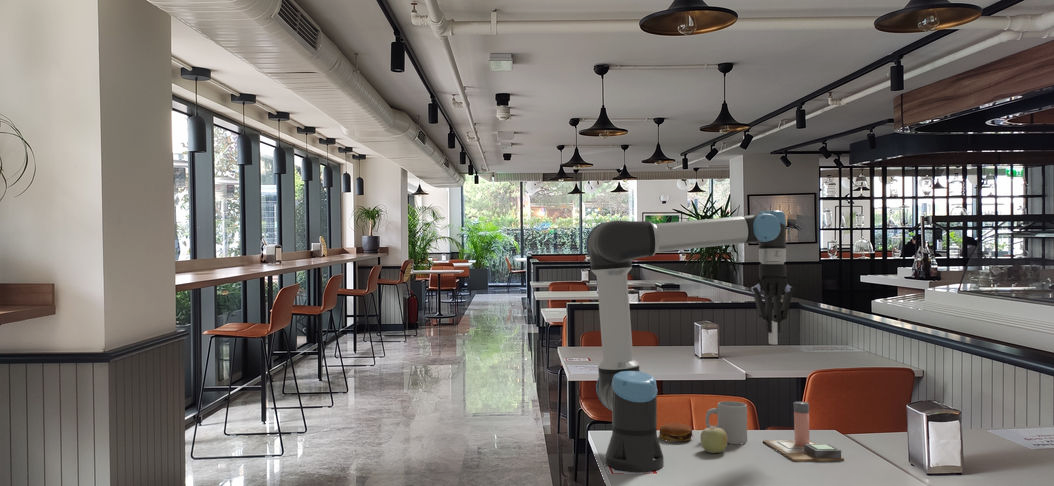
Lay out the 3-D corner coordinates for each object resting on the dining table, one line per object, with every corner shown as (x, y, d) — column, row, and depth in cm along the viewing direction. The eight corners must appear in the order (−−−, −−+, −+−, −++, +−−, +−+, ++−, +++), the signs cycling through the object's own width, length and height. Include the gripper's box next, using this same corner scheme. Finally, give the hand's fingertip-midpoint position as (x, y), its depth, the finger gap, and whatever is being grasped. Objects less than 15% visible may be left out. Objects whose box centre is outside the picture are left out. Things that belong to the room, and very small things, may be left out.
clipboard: (793, 461, 188) (793, 451, 188) (762, 442, 208) (762, 433, 208) (844, 460, 189) (843, 450, 190) (808, 441, 209) (808, 432, 209)
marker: (797, 447, 201) (796, 404, 201) (792, 443, 205) (791, 401, 205) (812, 446, 201) (811, 404, 201) (806, 443, 205) (805, 401, 205)
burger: (653, 439, 212) (653, 423, 213) (670, 434, 219) (670, 419, 219) (682, 445, 206) (682, 429, 206) (698, 439, 212) (698, 424, 213)
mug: (744, 437, 214) (744, 401, 214) (749, 445, 205) (749, 407, 206) (704, 436, 216) (704, 400, 216) (707, 443, 207) (707, 406, 207)
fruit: (731, 455, 194) (730, 426, 194) (704, 455, 194) (704, 426, 194) (723, 448, 202) (722, 420, 202) (697, 448, 202) (697, 420, 202)
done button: (818, 455, 191) (818, 449, 191) (810, 451, 195) (810, 444, 195) (834, 455, 191) (834, 448, 191) (826, 450, 196) (826, 444, 196)
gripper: (756, 263, 203) (756, 345, 202) (799, 263, 204) (800, 345, 203) (745, 263, 210) (746, 342, 210) (788, 263, 211) (788, 342, 211)
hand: (773, 343), depth 206 cm, fingers closed
